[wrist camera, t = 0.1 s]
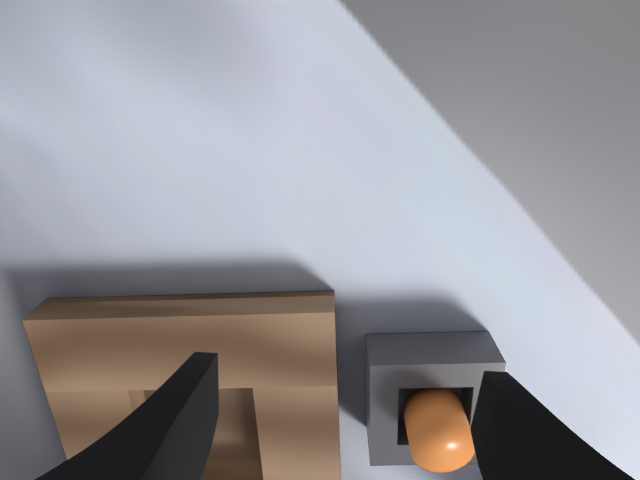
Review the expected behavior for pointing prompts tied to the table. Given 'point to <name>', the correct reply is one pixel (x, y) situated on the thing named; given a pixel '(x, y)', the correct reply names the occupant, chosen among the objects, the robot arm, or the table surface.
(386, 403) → the button housing
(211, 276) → the table surface
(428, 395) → the button cap
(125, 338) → the wooden board
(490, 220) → the table surface
